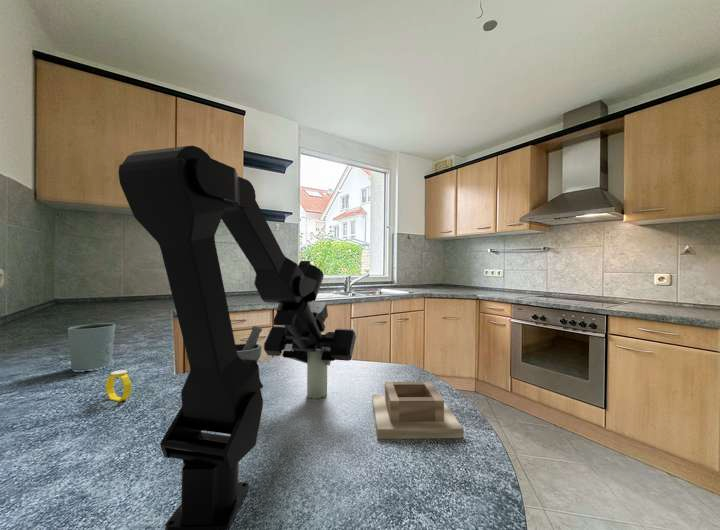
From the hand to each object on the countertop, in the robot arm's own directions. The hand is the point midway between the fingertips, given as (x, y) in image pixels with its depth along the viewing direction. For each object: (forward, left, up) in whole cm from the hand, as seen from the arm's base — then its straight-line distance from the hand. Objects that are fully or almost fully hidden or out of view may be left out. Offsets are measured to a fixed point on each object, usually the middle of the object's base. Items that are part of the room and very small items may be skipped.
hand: (319, 362), depth 67 cm
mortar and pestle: (+15, +22, -7) cm, 28 cm away
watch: (-3, +42, -7) cm, 43 cm away
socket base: (-12, -19, -7) cm, 23 cm away
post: (-1, 0, -7) cm, 7 cm away
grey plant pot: (+19, +67, -7) cm, 70 cm away
